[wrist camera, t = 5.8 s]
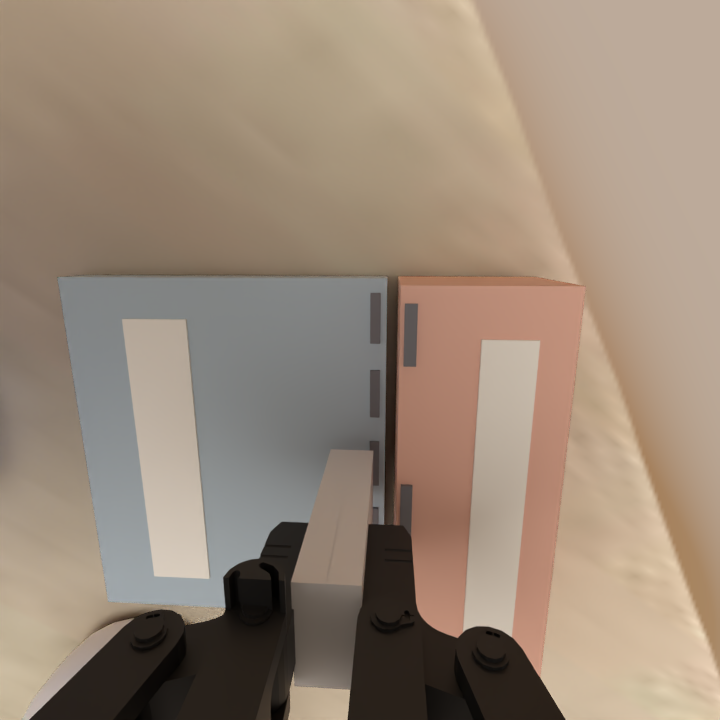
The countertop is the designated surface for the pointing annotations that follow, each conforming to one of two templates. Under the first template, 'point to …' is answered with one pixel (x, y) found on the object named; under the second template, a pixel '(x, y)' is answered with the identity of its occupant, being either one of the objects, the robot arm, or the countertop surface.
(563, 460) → the stub
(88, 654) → the bottle
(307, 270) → the countertop surface
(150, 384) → the ticket
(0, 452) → the countertop surface
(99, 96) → the countertop surface
